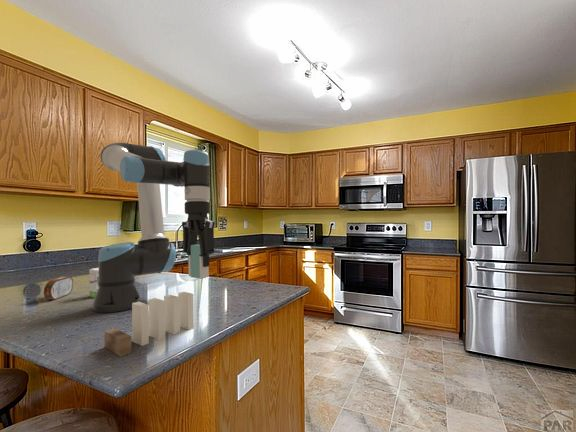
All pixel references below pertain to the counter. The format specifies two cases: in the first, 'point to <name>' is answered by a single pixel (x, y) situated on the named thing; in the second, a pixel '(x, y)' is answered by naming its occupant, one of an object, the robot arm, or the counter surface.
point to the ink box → (94, 281)
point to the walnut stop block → (118, 342)
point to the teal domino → (195, 261)
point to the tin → (58, 287)
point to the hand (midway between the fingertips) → (198, 276)
